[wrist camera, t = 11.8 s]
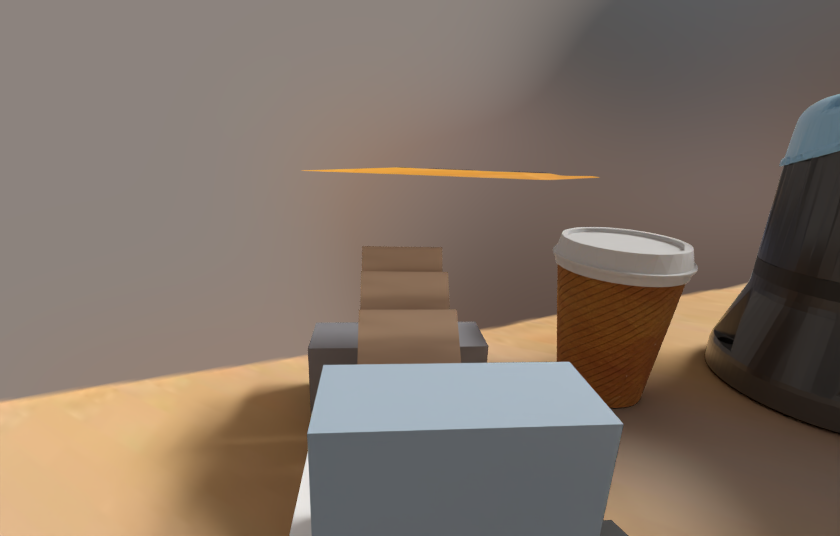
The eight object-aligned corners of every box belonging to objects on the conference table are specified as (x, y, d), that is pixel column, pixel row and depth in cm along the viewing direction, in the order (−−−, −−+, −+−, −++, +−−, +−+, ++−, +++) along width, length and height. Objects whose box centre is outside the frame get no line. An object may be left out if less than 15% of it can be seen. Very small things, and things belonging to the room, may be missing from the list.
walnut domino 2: (458, 504, 21) (448, 272, 24) (356, 509, 20) (361, 271, 24) (451, 495, 23) (442, 281, 26) (357, 500, 22) (361, 280, 26)
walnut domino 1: (443, 444, 25) (442, 247, 26) (359, 447, 25) (362, 246, 26) (438, 434, 27) (437, 251, 28) (361, 437, 27) (363, 251, 28)
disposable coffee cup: (609, 439, 27) (644, 263, 24) (512, 369, 35) (528, 230, 32) (691, 401, 32) (731, 248, 28) (589, 347, 40) (610, 222, 36)
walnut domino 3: (482, 600, 16) (456, 309, 22) (350, 610, 16) (358, 309, 21) (471, 589, 18) (450, 322, 23) (352, 597, 17) (359, 323, 23)
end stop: (482, 409, 30) (488, 346, 28) (310, 414, 29) (307, 348, 27) (470, 378, 34) (475, 321, 32) (318, 381, 32) (316, 322, 31)
